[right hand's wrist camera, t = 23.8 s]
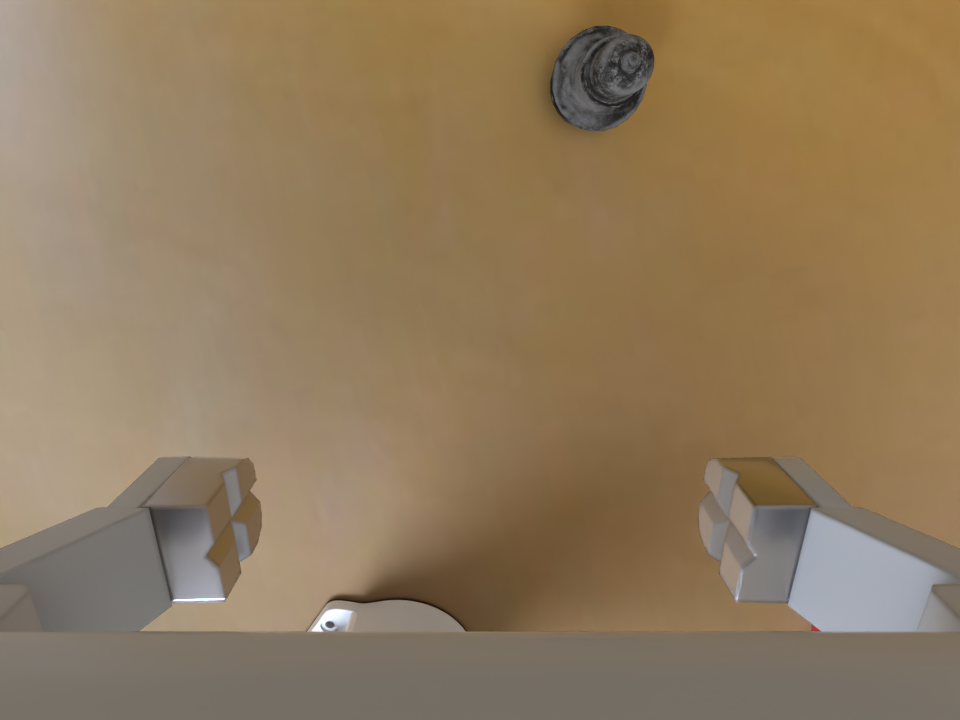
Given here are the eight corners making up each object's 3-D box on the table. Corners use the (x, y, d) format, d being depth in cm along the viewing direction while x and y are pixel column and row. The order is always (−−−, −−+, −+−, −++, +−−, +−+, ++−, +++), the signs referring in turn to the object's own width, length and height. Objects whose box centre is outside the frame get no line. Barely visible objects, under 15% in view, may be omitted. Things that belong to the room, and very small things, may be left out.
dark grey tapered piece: (540, 45, 38) (567, 1, 26) (630, 28, 37) (695, -23, 26) (551, 139, 40) (579, 135, 28) (635, 124, 39) (698, 115, 28)
